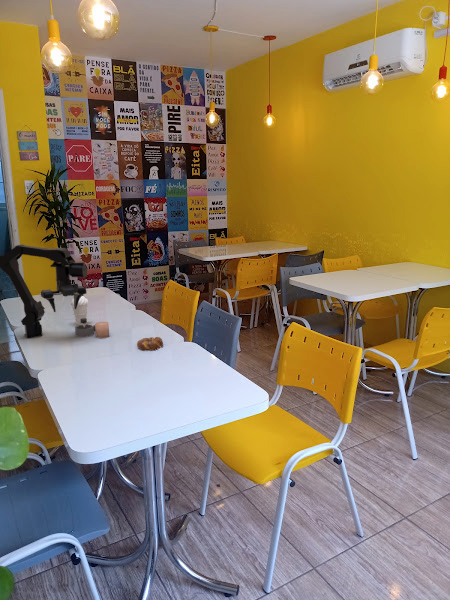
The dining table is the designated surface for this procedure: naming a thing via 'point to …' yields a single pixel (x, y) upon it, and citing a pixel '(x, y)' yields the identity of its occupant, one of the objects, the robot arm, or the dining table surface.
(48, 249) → the robot arm
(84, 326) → the plunger
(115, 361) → the dining table surface
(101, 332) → the peach rounded capsule
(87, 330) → the gray octagonal container
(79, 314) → the soft serve ice cream cone
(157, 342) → the pretzel
